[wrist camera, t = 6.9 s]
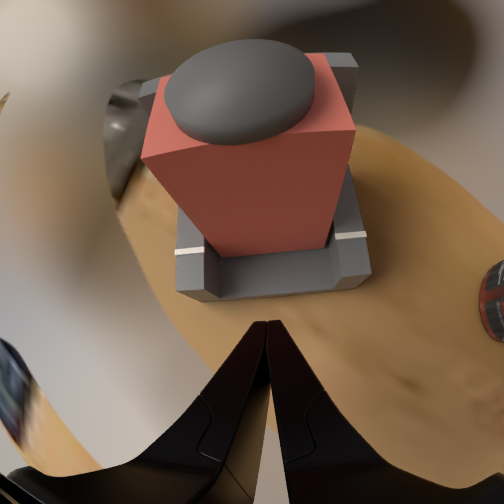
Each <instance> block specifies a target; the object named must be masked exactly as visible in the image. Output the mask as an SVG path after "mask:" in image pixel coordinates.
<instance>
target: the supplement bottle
mask: <svg viewBox="0 0 504 504" xmlns="http://www.w3.org/2000/svg"><path fill="white" fill-rule="evenodd" d="M479 307H480V314H481V318H482V321H483V324H484V326H485V329H486V331H487V332H488V333H489V335H490V336H491V337H492V338H494V339H495V340H498V341H501V342H504V260H503V261H501V262H499V263H497V264H496V265H494V266H493V267H492V268H491V269H490V270H489V271H488V272H487V273H486V275H485V277H484V279H483V281H482V285H481V289H480V297H479Z"/></svg>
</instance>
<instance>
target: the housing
mask: <svg viewBox="0 0 504 504" xmlns="http://www.w3.org/2000/svg"><path fill="white" fill-rule="evenodd" d="M304 54H324V55H325V57H326V59H327V61H328V64H329V66H330V68H331V70H332V72H333V74H334V77H335V79H336V81H337V83H338V86H339V88H340V90H341V93H342V95H343V98H344V100H345V102H346V105H347V108H348V110H349V113H350V115H351V112H352V106H353V100H354V95H355V89H356V82H357V76H358V69H359V67H358V65H357V63H356V61H355V60H354V58H353V57H352V55H351V53H304ZM170 75H172V74H170ZM167 76H169V75H167ZM163 77H166V76H163ZM160 78H162V77H160ZM160 78H156V79H153V80H150V81H147V82H144V83H143V84H142V87H141V90H140V93H139V96H138V99H139V101H140V103H141V104H142V106H143V107H144V109H145V111H146V112H147V114H148V116H149V117H150V115H151V111H152V107H153V103H154V99H155V96H156V92H157V89H158V85H159V82H160ZM365 237H367V235H366V231H364V228H363V223H362V218H361V213H360V209H359V204H358V200H357V196H356V192H355V188H354V184H353V180H352V176H351V172H350V168H349V165H347V169H346V173H345V177H344V180H343V184H342V188H341V191H340V195H339V199H338V202H337V206H336V209H335V213H334V216H333V220H332V223H331V226H330V230H329V233H328V236H327V240H326V243H325V246H324V248H320V249H309V250H299V251H289V252H278V253H268V254H257V255H246V256H236V257H225V258H222V257H221V256H220V255H219V254H218V252H217V251H216V250H215V249H214V248H213V246H212V245H211V244H210V243H209V242H208V241H207V239H206V238H205V237H204V236H203V235H202V233H201V232H200V231H199V230H198V229H197V227H196V226H195V225H194V224H193V223H192V221H191V220H190V219H189V218H188V216H187V215H186V214H185V213H184V212H183V210H182V209H181V208H180V207H179V206H178V224H177V247H176V249H175V256H176V291H177V292H179V293H181V294H184V295H186V296H188V297H190V298H193V299H195V300H197V301H199V302H208V301H225V300H240V299H254V298H267V297H279V296H290V295H301V294H311V293H321V292H330V291H339V290H348V289H355V288H356V287H357V286H358V285H359V284H361V283H362V282H363V281H364V280H365V279H366V278H367V277H369V276H370V275H371V274H372V272H371V266H370V260H369V254H368V248H367V243H366V238H365Z"/></svg>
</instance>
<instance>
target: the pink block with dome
mask: <svg viewBox="0 0 504 504" xmlns="http://www.w3.org/2000/svg"><path fill="white" fill-rule="evenodd" d="M355 132H356V129H355V126H354V123H353V121H352V118H351V115H350V113H349V110H348V108H347V105H346V102H345V100H344V98H343V95H342V93H341V90H340V88H339V86H338V83H337V81H336V79H335V77H334V74H333V72H332V70H331V68H330V66H329V64H328V61H327V59H326V57H325V55H324V54H304V53H303V52H301V51H300V50H298V49H296V48H294V47H292V46H290V45H287V44H284V43H281V42H277V41H271V40H263V39H248V40H237V41H232V42H227V43H223V44H219V45H216V46H214V47H211V48H208V49H206V50H204V51H202V52H200V53H198V54H196V55H194V56H193V57H191V58H189V59H188V60H187V61H185V62H184V63H183V64H182V65H180V66H179V67H178V68H177V69H176V70H175V72H174V73H173V74H172V75H169V76H166V77H162V78H160V82H159V85H158V89H157V92H156V96H155V99H154V103H153V107H152V111H151V115H150V119H149V123H148V127H147V132H146V136H145V141H144V145H143V150H142V155H141V160H142V161H143V162H144V163H145V165H146V166H147V167H148V168H149V170H150V171H151V172H152V173H153V175H154V176H155V177H156V178H157V180H158V181H159V182H160V183H161V185H162V186H163V187H164V188H165V190H166V191H167V192H168V193H169V194H170V196H171V197H172V198H173V199H174V201H175V202H176V203H177V204H178V206H179V207H180V208H181V209H182V210H183V212H184V213H185V214H186V215H187V216H188V218H189V219H190V220H191V221H192V223H193V224H194V225H195V226H196V227H197V229H198V230H199V231H200V232H201V233H202V235H203V236H204V237H205V238H206V239H207V241H208V242H209V243H210V244H211V245H212V246H213V248H214V249H215V250H216V251H217V252H218V254H219V255H220V256H221V257H222V258H225V257H236V256H246V255H257V254H268V253H278V252H289V251H299V250H309V249H320V248H324V246H325V243H326V240H327V236H328V233H329V230H330V226H331V223H332V220H333V216H334V213H335V209H336V206H337V202H338V199H339V195H340V191H341V188H342V184H343V180H344V177H345V173H346V169H347V165H348V161H349V157H350V153H351V149H352V145H353V141H354V136H355Z"/></svg>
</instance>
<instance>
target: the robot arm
mask: <svg viewBox="0 0 504 504" xmlns="http://www.w3.org/2000/svg"><path fill="white" fill-rule="evenodd" d="M270 388H271V389H272V396H273V402H274V408H275V415H276V421H277V427H278V434H279V440H280V447H281V453H282V459H283V465H284V472H285V478H286V485H287V490H288V497H289V503H290V504H504V474H502V473H496V474H493V475H492V476H490V477H488V478H486V479H484V480H483V481H481V482H479V483H477V484H475V485H473V486H471V487H468V488H462V489H454V488H448V487H444V486H442V485H439V484H436V483H433V482H431V481H428V480H426V479H423V478H421V477H418V476H416V475H413V474H411V473H408V472H406V471H404V470H402V469H399V468H397V467H395V466H393V465H392V464H390V463H389V462H387V461H386V460H385V459H383V458H382V457H381V456H380V455H379V454H378V453H377V452H376V451H375V450H374V449H373V448H372V447H371V446H370V445H369V444H368V442H367V441H366V440H365V439H364V438H363V437H362V436H361V435H360V434H359V433H358V432H357V431H356V430H355V428H354V427H353V426H352V425H351V424H350V423H349V422H348V420H347V419H346V418H345V417H344V416H343V415H342V413H341V412H340V411H339V409H338V408H337V407H336V405H335V404H334V402H333V401H332V400H331V398H330V396H329V395H328V393H327V392H326V391H325V390H324V387H323V386H322V384H321V383H320V381H319V380H318V378H317V377H316V375H315V373H314V372H313V370H312V369H311V367H310V366H309V364H308V362H307V361H306V359H305V358H304V356H303V355H302V353H301V352H300V350H299V348H298V347H297V345H296V344H295V342H294V341H293V339H292V337H291V336H290V334H289V333H288V331H287V329H286V328H285V326H284V325H283V323H282V322H281V321H280V320H271V321H268V322H266V321H257V322H254V323H253V324H252V325H251V326H250V328H249V329H248V331H247V332H246V333H245V335H244V336H243V337H242V339H241V340H240V341H239V343H238V344H237V345H236V347H235V348H234V349H233V351H232V352H231V353H230V355H229V356H228V357H227V359H226V360H225V361H224V363H223V364H222V365H221V367H220V368H219V369H218V371H217V372H216V373H215V375H214V376H213V377H212V379H211V380H210V381H209V382H208V384H207V385H206V386H205V388H204V389H203V390H202V391H201V393H200V395H198V396H197V398H196V399H195V400H194V401H193V403H192V404H191V405H190V406H189V407H188V408H187V410H186V411H185V412H184V413H183V414H182V415H181V416H180V418H179V419H178V420H177V421H176V422H175V423H174V424H173V425H172V426H171V427H170V428H169V429H167V430H166V431H165V432H164V433H163V434H162V435H161V436H160V437H159V438H158V439H157V440H156V441H155V442H153V443H152V444H151V445H150V446H149V447H148V448H147V449H146V450H145V451H144V452H142V453H141V454H140V455H139V456H137V457H136V458H134V459H133V460H131V461H129V462H127V463H124V464H122V465H118V466H114V467H110V468H107V469H102V470H98V471H93V472H89V473H84V474H78V475H73V476H66V477H53V476H48V475H45V474H43V473H42V472H40V471H38V470H37V469H35V468H33V467H31V466H27V467H23V468H19V469H16V470H14V471H12V472H11V473H9V475H8V476H7V477H8V478H7V477H5V476H4V475H3V474H1V473H0V504H253V502H254V496H255V491H256V485H257V479H258V472H259V467H260V460H261V454H262V447H263V440H264V433H265V427H266V419H267V412H268V405H269V397H270Z"/></svg>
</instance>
